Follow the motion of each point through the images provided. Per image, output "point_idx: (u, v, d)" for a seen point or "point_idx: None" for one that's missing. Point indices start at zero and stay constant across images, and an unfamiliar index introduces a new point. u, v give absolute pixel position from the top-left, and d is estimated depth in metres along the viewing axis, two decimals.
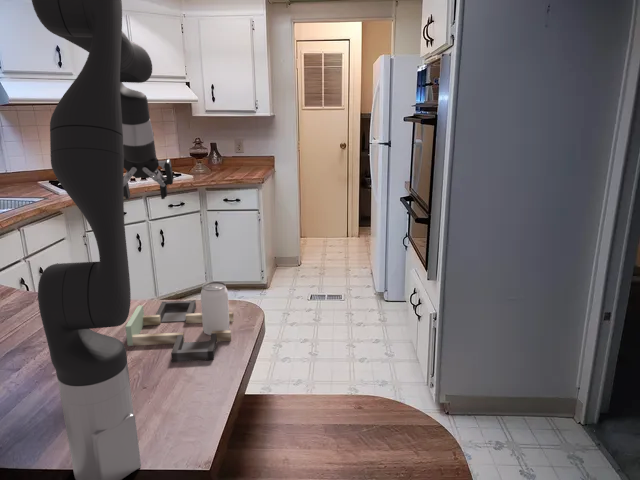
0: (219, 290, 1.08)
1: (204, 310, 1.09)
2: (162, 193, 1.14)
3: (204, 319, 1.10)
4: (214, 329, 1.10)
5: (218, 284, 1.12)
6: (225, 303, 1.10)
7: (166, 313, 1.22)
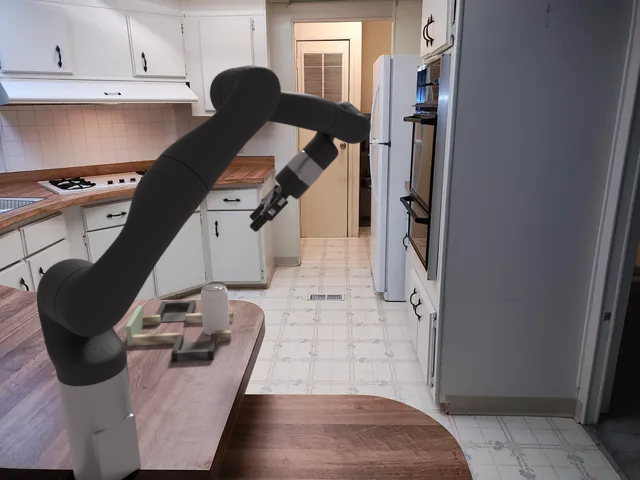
0: (219, 290, 1.08)
1: (204, 310, 1.09)
2: (254, 220, 1.03)
3: (204, 319, 1.10)
4: (214, 329, 1.10)
5: (218, 284, 1.12)
6: (225, 303, 1.10)
7: (166, 313, 1.22)
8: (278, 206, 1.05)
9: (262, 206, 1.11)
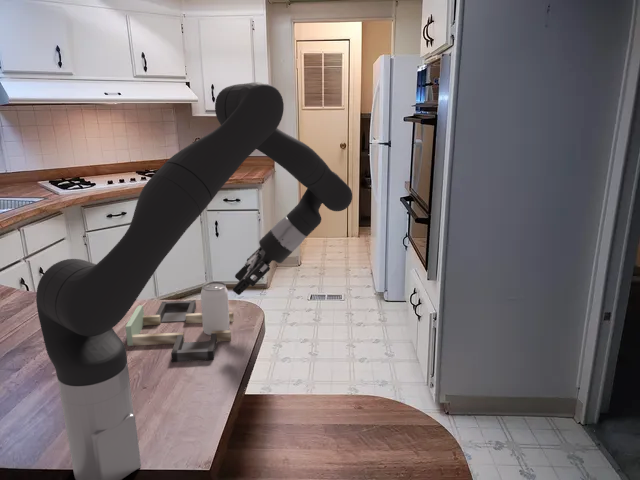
0: (219, 290, 1.08)
1: (204, 310, 1.09)
2: (237, 284, 1.06)
3: (204, 319, 1.10)
4: (214, 329, 1.10)
5: (218, 284, 1.12)
6: (225, 303, 1.10)
7: (166, 313, 1.22)
8: None
9: (247, 266, 1.14)
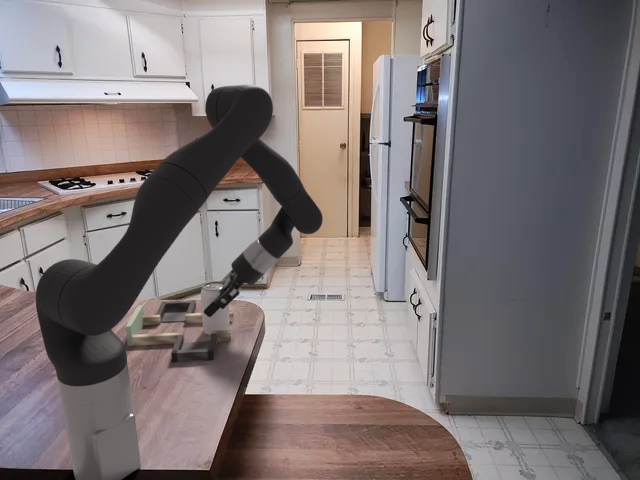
0: None
1: None
2: (208, 306, 1.08)
3: (204, 319, 1.10)
4: (214, 329, 1.10)
5: (218, 284, 1.12)
6: None
7: (166, 313, 1.22)
8: None
9: None
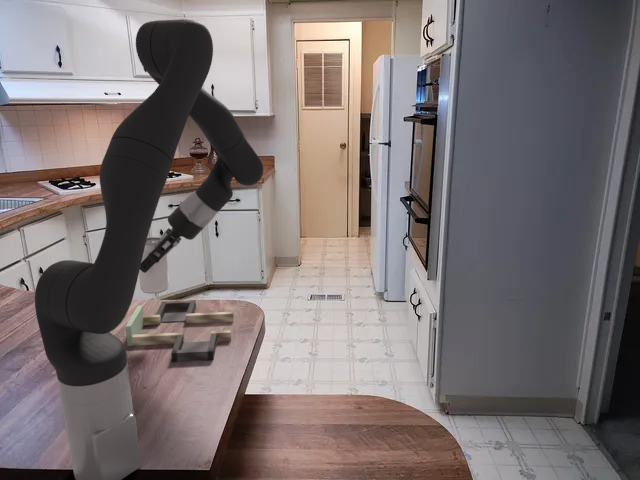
0: None
1: None
2: None
3: (140, 275, 1.05)
4: (150, 286, 1.05)
5: (156, 240, 1.07)
6: (162, 259, 1.05)
7: (166, 313, 1.22)
8: None
9: None
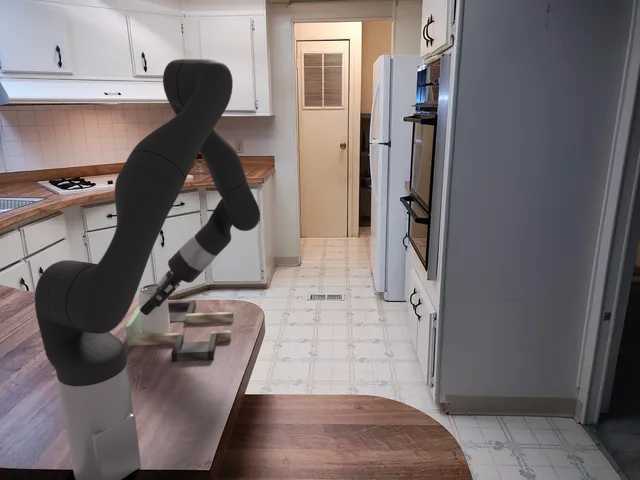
0: None
1: (141, 313, 1.07)
2: (144, 304, 1.05)
3: (142, 322, 1.08)
4: (152, 332, 1.08)
5: None
6: (163, 306, 1.08)
7: None
8: None
9: None
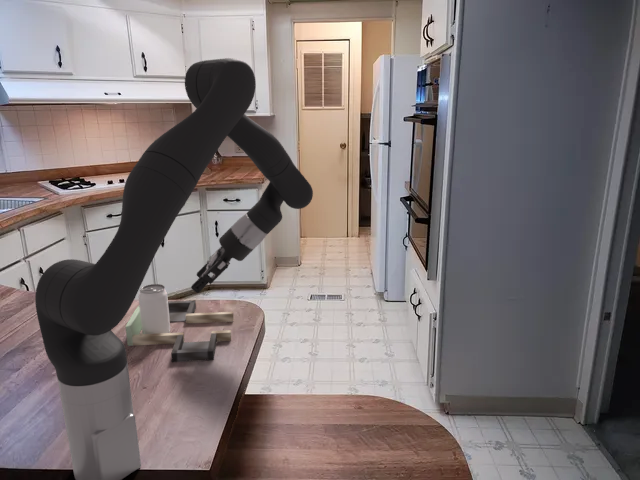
0: (156, 293, 1.06)
1: (141, 313, 1.07)
2: (196, 281, 1.05)
3: (142, 322, 1.08)
4: (152, 332, 1.08)
5: (157, 287, 1.10)
6: (163, 306, 1.08)
7: None
8: None
9: None
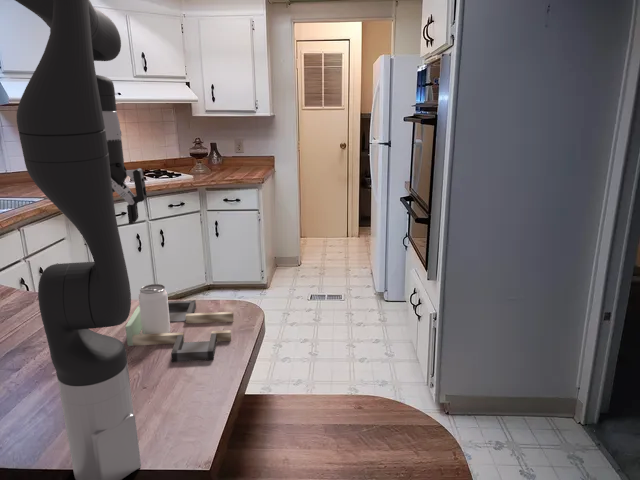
0: (156, 293, 1.06)
1: (141, 313, 1.07)
2: (130, 215, 0.86)
3: (142, 322, 1.08)
4: (152, 333, 1.08)
5: (158, 287, 1.10)
6: (164, 306, 1.08)
7: None
8: None
9: None
